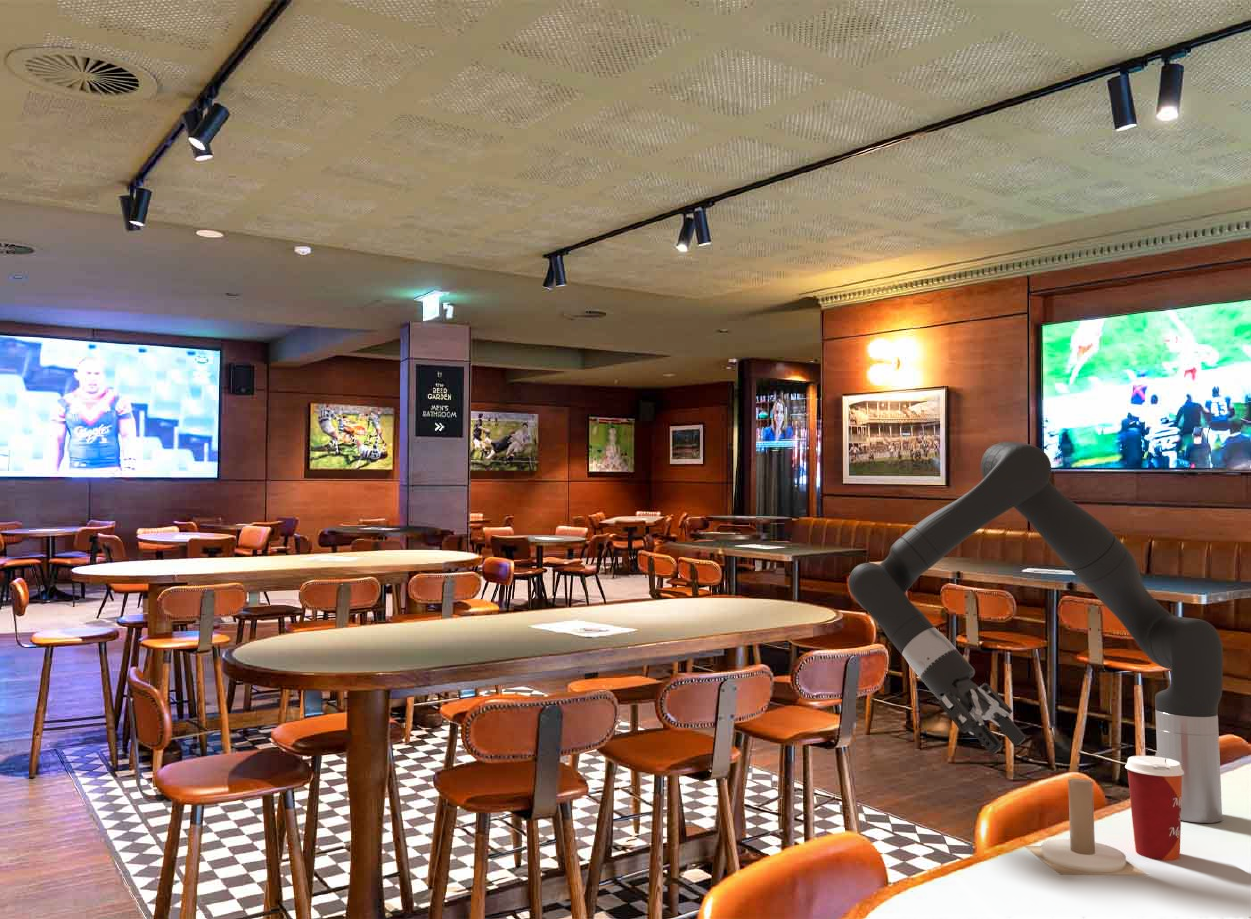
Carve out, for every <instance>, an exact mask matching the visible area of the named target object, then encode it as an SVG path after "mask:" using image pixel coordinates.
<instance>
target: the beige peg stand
mask: <svg viewBox="0 0 1251 919" xmlns="http://www.w3.org/2000/svg"><path fill="white" fill-rule="evenodd" d="M1067 781H1068V782H1067V784H1068V809H1069V812H1068V816H1069V838H1055V839H1050V840H1046V841H1043V842H1042V843H1041V845H1040V846H1041V855H1042V857H1043V858H1044V859H1045V860H1046V861H1048V862H1050V863H1052V864H1054V865H1057V866H1060V867H1063V868H1067V869H1071V870H1076V871H1082V872H1091V873H1113V872H1119V871H1122V870H1124V869H1125V868H1126V861H1127V855H1126V854H1125V853H1124V852H1123V851H1121V850H1119V849H1118V848H1116V847H1113V846H1110V845H1107V844H1103V843H1100V842H1097V841H1095V840H1096V839H1095V814H1094V813H1095V812H1094V810H1095V809H1094V783H1093V781H1092V780H1089V779H1085V778H1084V779H1083V778H1068V780H1067Z"/></svg>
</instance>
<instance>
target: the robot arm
mask: <svg viewBox="0 0 1251 919" xmlns="http://www.w3.org/2000/svg"><path fill="white" fill-rule="evenodd" d="M980 471H981V476H982V478H983V479H982V480H981V481H980V482H979V483H977V485H976V486H974V487H973V488H971V490H970V489H969V491H967V493H964V494H963V495H961V497H959V498H957V499H955V500H954V501H952V502H951V503H949V504H947V505H945V506H943V507H941V508H940V509H938V510H936V511H934V512H933V513H931V514H929V515H928V516H926V517H924V518H923V519H922V520H920V521H919V522H918V523H916V524H915V525H914V526H913V527H912V528H910V529H909V530H908V531H906V532H905V533H903V535H902V536H900V538H898V539H897V540H896V541H895V542H893V544H892V545H891V547H890V548H889V554H888V556H887V557H886V558H885V559H884V560H883V561H882V562H880V563H879V564H878V563H873V562H863V563H860V564H857V565H856V566H855V567H854V568H853V569H852V571H851V572H850V574H849V576H848V589H849V592H850V593H851V595H852V597H853V598H854V600H855V601H856V602H857V604H858V605H859V606H860V607H861V608H862V609H863V610H865V611H866V612H867V613H868V614H869V615H870V616H871V617H872V618H873V619H874V620H875V621H876V623H877V624H878V625H879V626H880V628H881V629H882V631H883V633H884V634H885V635H886V637H887V638H888V639H889V641H890V642H891V644H892V645H893V646H894V647H895V648H896V649H897V651H898V652H899V653H900V654H901V655H902V657H904V659H905V661H906V662H907V663H908V665H909V667H910V668H911V669H912V670H913V672H914V673H915V674H916V675H917V676H918V677H919V678H920V680H921V682H922V683H924V685H925V686H926V687H927V688H928V689H929V691H930V692H931V693H932V694H933V695H934V697H935V698H937V699H938V704H939V705H940V707H941V708H942V709H943V711H944V712H945V713H946V714H947V716H949V718H950V719H951V720H952V722H953V723H954V724H955V725H956V726H957V728H958V729H959V730H960V731H961V732H962V733H963V734H966V733H969V734H970V735H972V736H975V737H976V738H977V740H978V741H979V742H980V744H982V745H983V746H984V748H985V749H986V751H988V753H989V754H990V755H994V754H996V753H997V752H999V751H1000V750H1001V749H1002V748H1003V743H1002V742H1001V741H1000V740H999V739H998V737H997V736H996V735H995V734H994V733H993V731H992V730H991V729H990V728H989V727H988V726H987V725H985V721H990V722H992V723H993V724H994V725H995V726H997V727H998V729H999V730H1000V731H1001V732H1002V733H1003V734H1004V736H1005V737H1006V738H1007V739H1008V740H1009V741H1010V742H1011V743H1012V745H1013V746H1019V745H1021V744H1022V743H1023V742H1024V741H1025V740H1026V737H1027V736H1026V735H1025V733H1024V732H1023V731H1022V730H1021V729H1020V728H1019V727H1018V725H1016V724H1015V722H1014V721H1013V720H1012V719H1011V714H1012V713H1013V710H1012V708H1011V707H1010V706H1009V704H1007V703H1006V702H1005V701H1004V700H1003V699H1002V697H1001V696H999V694H997V692H996V691H995V690H994V689H993V688H992V687H991V686H990V685H989V684H988V683H987V682H984V683H983V684H982V685H980V686H979V685H977V684H976V683H975V682H974V681H973V677H974V676H975V674H976V670H975V668H974V667H973V666H972V665H971V664H970V663H969V661H968V660H967V659H966V658H965V657H964V656H963V655H962V654H961V653H960V651H959V650H958V649H957V648H956V647H955V645H953V643H952V642H951V641H950V640H949V639H948V638H947V637H946V636H945V635H944V634H943V633H942V632H941V631H939V630H938V629H937V628H936V627H935V625H933V623H932V622H931V621H930V620H929V619H928V618H927V616H925V615H924V613H923V612H922V611H921V610H920V609H919V608H917V607H916V606H915V605H914V603H912V601H911V600H910V599H909V598H908V596H907V594H905V593H907V591H908V590H909V589H910V588H911V587H912V586H913V585H914V583H915V582H916V581H917V580H918V578H919V577H920V576H922V574H924V573H925V572H927V571H928V570H929V569H931V568H933V566H934V565H935V564H936V563H938V562H939V561H940V560H941V559H943V558H944V557H946V555H948V554H949V553H950V552H951V551H953V550H954V549H955V548H956V547H957V546H959V545H960V544H961V543H963V542H964V541H965V540H967V539H968V538H969V537H970V536H972V535H973V534H975V533H976V532H978V530H980V529H981V528H983V527H984V526H986V525H988V524H989V523H990V522H992V521H993V520H995V519H996V518H998V517H1000V516H1001V515H1002V514H1005V512H1007V511H1008V510H1011V509H1015V510H1016V511H1017V512H1019V513H1020V514H1021V516H1023V518H1025V519H1026V521H1028V522H1029V523H1030V525H1032V527H1034V529H1035V530H1036V532H1037V534H1039V535H1040V537H1041V538H1042V539H1043V541H1044V542H1045V543H1046V544H1047V545H1048V546H1049V547H1050V549H1052V551H1053V552H1054V553H1055V554H1056V555H1057V556H1058V558H1060V560H1061V561H1062V562H1063V563H1064V565H1065V566H1066V567H1068V568H1069V570H1070V571H1071V572H1072V573H1073V574H1074V575H1075V576H1076V577H1077V578H1078V579H1079V580H1080V582H1081V583H1083V585H1085V586H1086V587H1087V588H1088V589H1089V590H1090V591H1091V592H1092V593H1093V594H1094V595H1095V596H1096V597H1097V598H1098V600H1099V601H1101V603H1102V604H1103V605H1104V606H1105V607H1106V608H1107V609H1108V610H1109V611H1110V612H1111V613H1112V614H1113V615H1114V617H1116V618H1117V619H1118V621H1120V623H1121V624H1122V625H1123V626H1124V628H1125V629H1126V631H1128V633H1129V635H1130V636H1131V637H1132V638H1133V640H1134V641H1135V642H1136V644H1137V645H1138V646H1139V648H1140V649H1141V650H1142V652H1143V653H1144V654H1145V655H1146V656H1147V657H1148V659H1149V660H1151V661H1152V662H1153V663H1155V665H1158V666H1160V667H1162V668H1164V669H1168V670H1171V672H1170V684H1169V686H1168V687H1167V688H1166V689H1164V690H1160V691H1158V692H1157V693H1155V696H1154V706H1155V707H1154V708H1155V711H1154V712H1155V728H1156V729H1155V730H1156V731H1155V732H1156V733H1155V734H1156V735H1155V736H1156V752H1155V755H1154V756H1155V757H1162V758H1168V759H1172V760H1175V761H1178V762H1179V763H1180V764H1181V769H1182V770H1183V771H1184V774H1183V775H1182V793H1181V821H1185V822H1192V823H1201V824H1202V823H1206V824H1207V823H1208V824H1210V823H1211V824H1213V823H1218V822H1221V821H1223V806H1222V781H1221V779H1222V778H1221V777H1222V776H1221V760H1220V754H1221V753H1220V736H1219V716H1218V714H1219V713H1218V711H1219V710H1218V709H1219V708H1218V707H1219V704H1220V701H1221V699H1222V695H1223V674H1224V673H1223V672H1224V671H1223V670H1224V668H1223V667H1224V666H1223V665H1224V654H1223V653H1224V652H1223V643H1222V640H1221V636H1220V634H1219V632H1218V631H1217V628H1216V627H1215V626H1214V625H1212V624H1211V623H1209V622H1208V621H1206V620H1203V619H1198V618H1193V617H1183V616H1176V615H1174V614H1172V613H1171V612H1169V611H1168V610H1167V609H1166V608H1164V606H1163V605H1161V604H1160V603H1159V602H1158V601H1157V600H1156V599H1155V598H1154V597H1153V596H1152V595H1151V594H1150V593H1149V591H1148V590H1147V588H1146V587H1145V585H1144V583H1143V580H1142V577H1141V572H1140V569H1139V566H1138V564H1137V561H1136V559H1135V557H1134V556H1133V554H1132V553H1131V551H1130V550H1129V549H1128V548H1127V547H1126V546H1125V545H1124V544H1123V542H1121V540H1120V539H1119V538H1118V537H1117V536H1116V535H1115V534H1114V533H1113V532H1112V530H1110V529H1109V528H1108V527H1107V526H1106V525H1104V524H1103V523H1102V522H1101V521H1099V520H1098V519H1097V518H1096V517H1094V516H1093V515H1092V514H1090V513H1089V512H1088V511H1086V510H1085V509H1083V508H1082V507H1081V506H1079V505H1078V504H1076V503H1075V502H1073V501H1072V500H1071V499H1069V498H1068V497H1066V496H1065V495H1064V494H1063V493H1061V491H1060V490H1058V489H1057V488H1056V487H1055V485H1053V483H1052V482H1051V481H1050V479H1051V477H1052V476H1051V475H1052V463H1051V461H1050V458H1049V457H1048V455H1047V454H1046V452H1045V451H1044V450H1042V449H1041V448H1039V447H1037V446H1035V445H1034V444H1033V445H1032V444H1030V443H1029V444H1028V443H1023V442H1015V441H1002V442H999V443H996V444H993V445H991V446H990V447H988V448H987V449H986V450H985V452H984V453H983V455H982V458H981V461H980Z"/></svg>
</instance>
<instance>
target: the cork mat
mask: <svg viewBox="0 0 1251 919" xmlns="http://www.w3.org/2000/svg"><path fill="white" fill-rule="evenodd" d="M1023 847H1024V848H1025V849H1027V850H1028V851H1029V852H1030V853H1032V854H1033V855H1034V856H1036V858H1039V860H1041V861H1042V862H1044V863H1045V864H1046V865H1047V866H1049V867H1050V868H1051V869H1053V870H1054V871H1055V872H1056V873H1058V874H1059V875H1061V876H1062V875H1063V876H1064V875H1065V876H1071V875H1073V876H1075V875H1077V876H1080V875H1081V876H1083V875H1084V876H1088V875H1090V876H1091V875H1092V876H1093V875H1094V876H1099V875H1100V876H1101V875H1102V876H1107V875H1108V876H1114V875H1115V876H1148V875H1149V874H1148V873H1146V872H1144V871H1143V870H1142V869H1139V867H1136V866H1135V865H1133V864H1132V863H1130V862H1128V861H1127V860H1126V868H1125V869H1124V870H1122V871H1119V872H1113V873H1091V872H1082V871H1076V870H1071V869H1067V868H1063V867H1060V866H1057V865H1054V864H1052V863H1050V862H1048V861H1046V860H1045V859H1044V858H1043V857H1042V855H1041V845H1023Z"/></svg>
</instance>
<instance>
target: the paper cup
mask: <svg viewBox="0 0 1251 919" xmlns="http://www.w3.org/2000/svg"><path fill="white" fill-rule="evenodd" d="M1124 768H1125V769H1126V770H1127V777H1128V778H1127V779H1128V786H1129V787H1128V789H1129V790H1128V791H1129V798H1130V809H1131V810H1130V811H1131V820H1132V829H1133V830H1132V832H1133V838H1134V840H1133V842H1134V847H1135V849H1134V850H1135V852H1136V854H1138V855H1139V856H1141V857H1144V858H1148V859H1152V860H1155V861H1156V860H1158V861H1163V862H1164V861H1167V862H1168V861H1170V862H1173V861H1177V860H1179V859H1180V857H1181V834H1182V833H1181V829H1182V828H1181V827H1182V826H1181V825H1182V820H1181V793H1182V775H1183V774H1184V771H1183V770H1182V769H1181V764H1180V763H1179V762H1178V761H1175V760H1172V759H1168V758H1162V757H1155V755H1154V756H1153V755H1132V756H1129V757H1128V758H1127V763H1126V764H1125V766H1124Z"/></svg>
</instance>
